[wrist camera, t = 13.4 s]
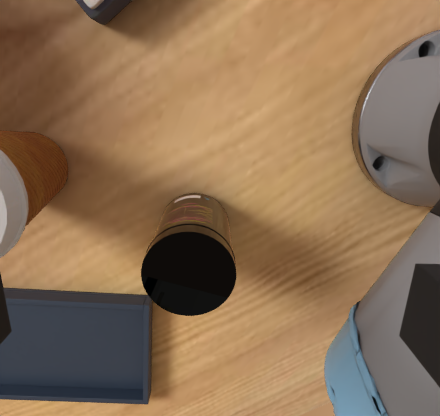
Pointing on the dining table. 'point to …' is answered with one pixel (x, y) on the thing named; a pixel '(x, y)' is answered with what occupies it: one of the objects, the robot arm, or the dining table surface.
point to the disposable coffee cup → (26, 181)
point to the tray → (77, 347)
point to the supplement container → (190, 257)
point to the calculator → (102, 9)
